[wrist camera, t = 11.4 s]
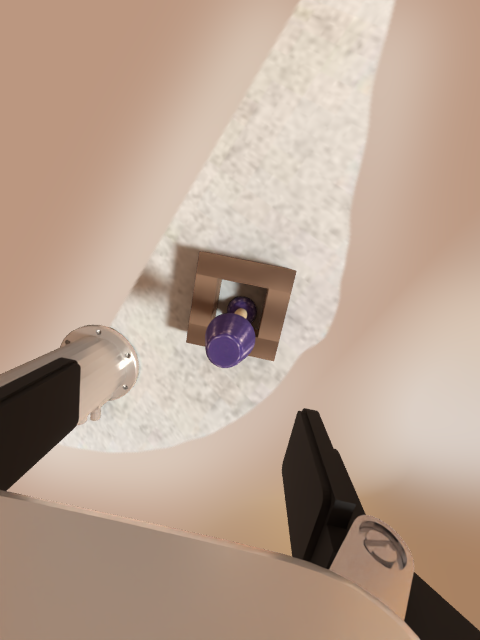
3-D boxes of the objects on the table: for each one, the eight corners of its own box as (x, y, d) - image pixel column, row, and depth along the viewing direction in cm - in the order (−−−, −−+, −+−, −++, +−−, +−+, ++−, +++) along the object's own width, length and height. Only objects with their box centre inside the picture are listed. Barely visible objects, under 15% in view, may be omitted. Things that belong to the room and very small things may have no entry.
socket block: (272, 350, 36) (273, 361, 32) (193, 333, 37) (186, 342, 33) (292, 269, 33) (296, 270, 29) (206, 252, 33) (199, 251, 30)
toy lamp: (218, 306, 35) (182, 350, 19) (242, 285, 34) (226, 312, 18) (240, 330, 36) (224, 392, 20) (265, 310, 35) (268, 358, 19)
